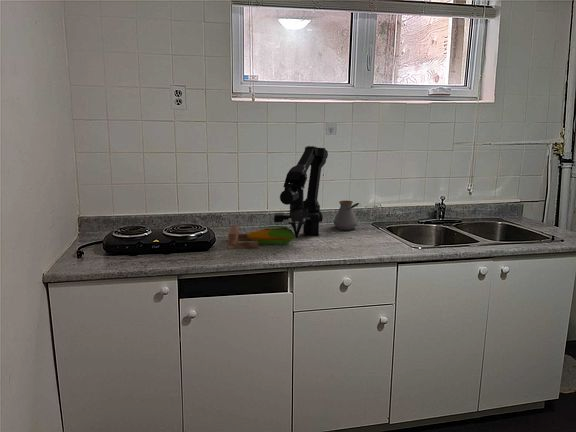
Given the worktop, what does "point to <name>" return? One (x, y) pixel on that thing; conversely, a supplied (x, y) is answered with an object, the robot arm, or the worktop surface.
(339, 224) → the coffee pot
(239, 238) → the guide bay
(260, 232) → the corn
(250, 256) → the worktop surface
